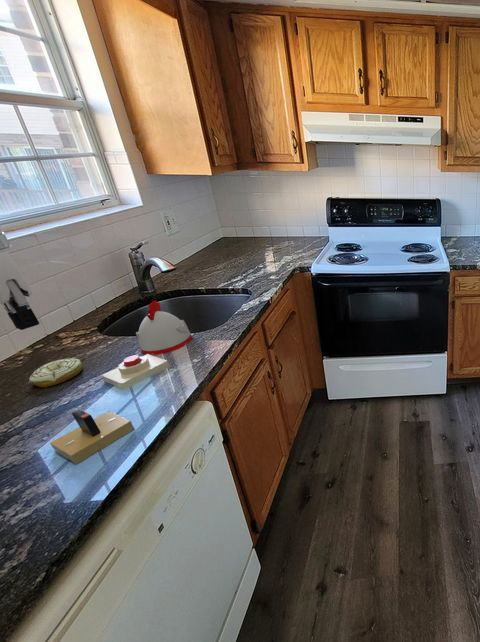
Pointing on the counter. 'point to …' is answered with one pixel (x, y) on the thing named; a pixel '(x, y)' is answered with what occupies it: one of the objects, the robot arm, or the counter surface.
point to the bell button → (132, 360)
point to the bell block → (135, 372)
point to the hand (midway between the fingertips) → (28, 326)
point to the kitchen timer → (162, 332)
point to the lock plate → (84, 445)
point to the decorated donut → (56, 372)
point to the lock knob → (86, 422)
